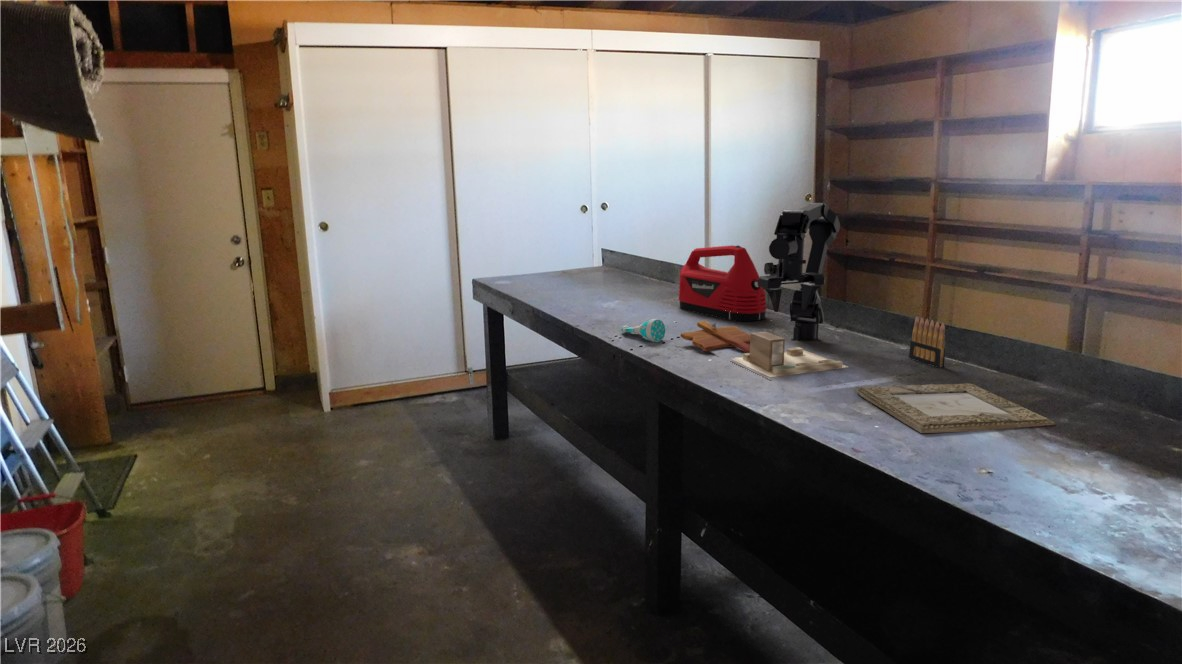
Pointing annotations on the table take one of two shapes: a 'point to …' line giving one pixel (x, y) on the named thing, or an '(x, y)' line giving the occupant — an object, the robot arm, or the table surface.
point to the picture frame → (950, 408)
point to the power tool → (722, 286)
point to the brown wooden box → (766, 350)
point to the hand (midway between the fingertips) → (789, 310)
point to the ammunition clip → (928, 343)
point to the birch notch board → (793, 363)
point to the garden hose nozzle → (648, 330)
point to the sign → (718, 337)
